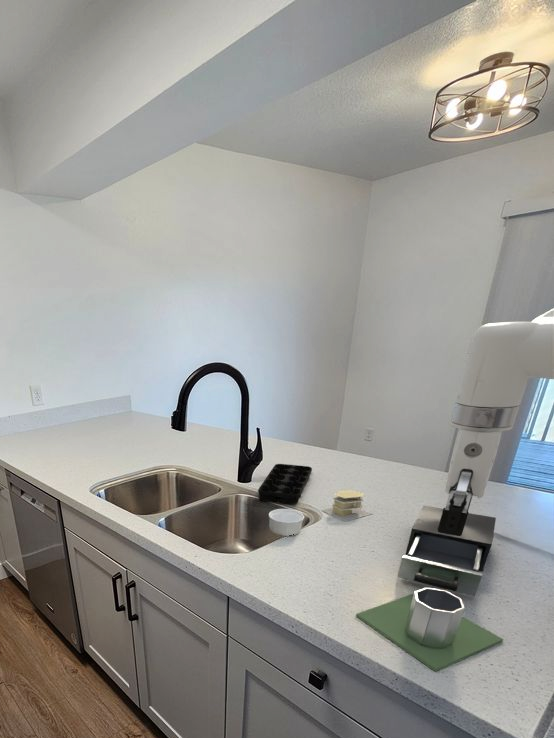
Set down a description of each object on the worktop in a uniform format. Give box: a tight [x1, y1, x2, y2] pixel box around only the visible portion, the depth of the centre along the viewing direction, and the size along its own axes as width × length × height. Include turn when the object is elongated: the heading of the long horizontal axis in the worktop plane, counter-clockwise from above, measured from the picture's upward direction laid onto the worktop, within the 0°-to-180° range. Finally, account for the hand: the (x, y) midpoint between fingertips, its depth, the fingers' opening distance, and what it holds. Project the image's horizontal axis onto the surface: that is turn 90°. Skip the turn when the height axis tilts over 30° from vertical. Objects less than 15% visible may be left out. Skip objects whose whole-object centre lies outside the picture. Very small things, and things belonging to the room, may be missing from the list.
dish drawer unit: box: [405, 505, 497, 573], centre depth 100 cm, size 16×15×7 cm
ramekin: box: [268, 508, 305, 537], centre depth 114 cm, size 9×9×4 cm
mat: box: [355, 593, 504, 673], centre depth 77 cm, size 16×16×1 cm
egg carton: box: [257, 463, 313, 505], centre depth 141 cm, size 18×30×4 cm, turn 166°
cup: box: [406, 587, 466, 648], centre depth 73 cm, size 7×7×8 cm
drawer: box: [396, 533, 484, 598], centre depth 89 cm, size 19×13×5 cm
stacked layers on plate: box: [320, 489, 373, 522], centre depth 122 cm, size 10×9×6 cm
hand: (452, 522), depth 71 cm, fingers open, 9 cm apart
